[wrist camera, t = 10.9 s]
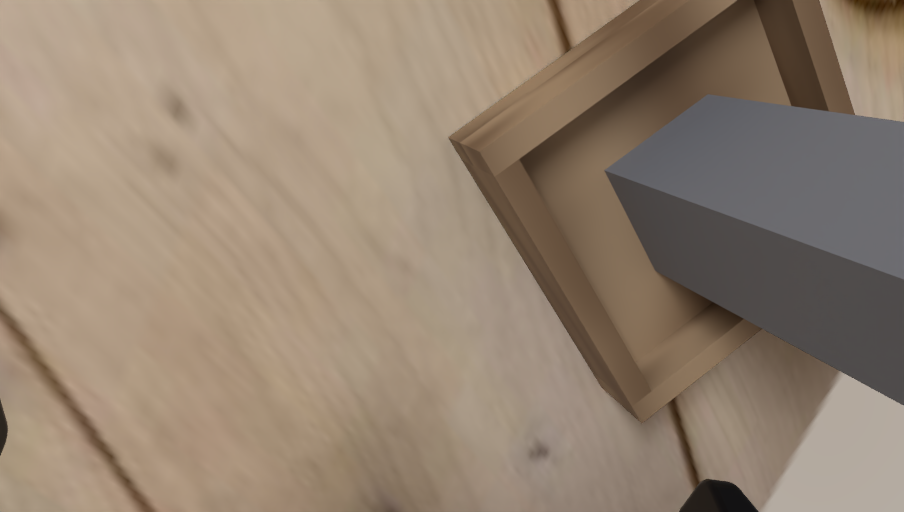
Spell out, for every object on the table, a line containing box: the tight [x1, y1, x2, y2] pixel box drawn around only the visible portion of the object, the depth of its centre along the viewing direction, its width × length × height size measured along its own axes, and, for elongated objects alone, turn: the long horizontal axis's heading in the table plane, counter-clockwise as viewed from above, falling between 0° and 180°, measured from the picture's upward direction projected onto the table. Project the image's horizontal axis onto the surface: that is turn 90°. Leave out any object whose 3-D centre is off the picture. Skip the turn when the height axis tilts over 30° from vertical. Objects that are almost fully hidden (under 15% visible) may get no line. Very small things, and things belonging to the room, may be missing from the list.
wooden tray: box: [448, 0, 855, 423], centre depth 22 cm, size 11×11×2 cm
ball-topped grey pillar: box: [604, 94, 904, 405], centre depth 16 cm, size 4×4×13 cm
